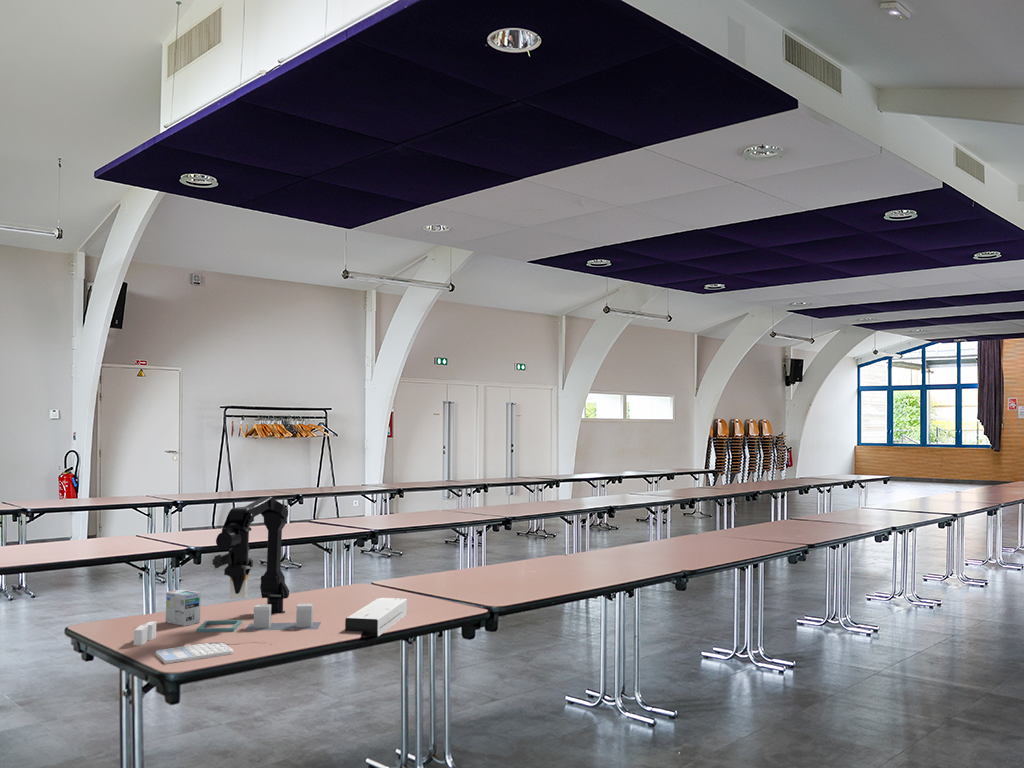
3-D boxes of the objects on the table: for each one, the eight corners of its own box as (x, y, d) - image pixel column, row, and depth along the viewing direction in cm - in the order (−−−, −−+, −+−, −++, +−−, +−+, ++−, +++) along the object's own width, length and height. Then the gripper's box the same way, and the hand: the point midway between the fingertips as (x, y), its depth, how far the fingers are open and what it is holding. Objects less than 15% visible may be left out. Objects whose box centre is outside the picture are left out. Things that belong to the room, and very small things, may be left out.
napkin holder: (137, 650, 257) (137, 631, 258) (114, 644, 263) (115, 626, 264) (178, 639, 270) (179, 621, 271) (156, 634, 276) (156, 617, 276)
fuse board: (249, 627, 284) (250, 623, 285) (321, 626, 287) (321, 622, 287) (243, 635, 275) (243, 630, 275) (317, 633, 277) (317, 628, 277)
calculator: (234, 655, 252) (234, 649, 252) (165, 666, 240) (165, 659, 240) (221, 645, 263) (221, 639, 263) (154, 655, 251) (154, 649, 251)
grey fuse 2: (297, 624, 283) (298, 603, 284) (312, 624, 284) (313, 603, 284) (296, 627, 279) (296, 606, 280) (311, 627, 280) (311, 606, 280)
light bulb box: (200, 622, 292) (201, 591, 292) (184, 626, 286) (185, 595, 287) (180, 619, 297) (181, 588, 298) (164, 622, 291) (165, 591, 292)
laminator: (377, 638, 273) (377, 619, 273) (341, 636, 275) (342, 617, 275) (407, 615, 306) (407, 598, 307) (375, 614, 308) (375, 597, 309)
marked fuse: (232, 595, 281) (232, 574, 282) (247, 595, 282) (247, 574, 282) (229, 598, 277) (230, 576, 278) (245, 597, 278) (245, 576, 278)
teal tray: (205, 628, 284) (205, 620, 284) (241, 627, 285) (241, 619, 285) (196, 636, 272) (196, 629, 272) (233, 636, 273) (234, 628, 273)
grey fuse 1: (255, 625, 282) (256, 604, 282) (270, 625, 282) (271, 604, 283) (253, 628, 278) (253, 607, 278) (268, 627, 278) (269, 606, 279)
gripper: (220, 542, 289) (219, 587, 288) (208, 549, 270) (207, 598, 269) (253, 541, 290) (252, 587, 289) (244, 549, 272) (242, 597, 271)
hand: (238, 592), depth 280 cm, fingers closed on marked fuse, 4 cm apart
